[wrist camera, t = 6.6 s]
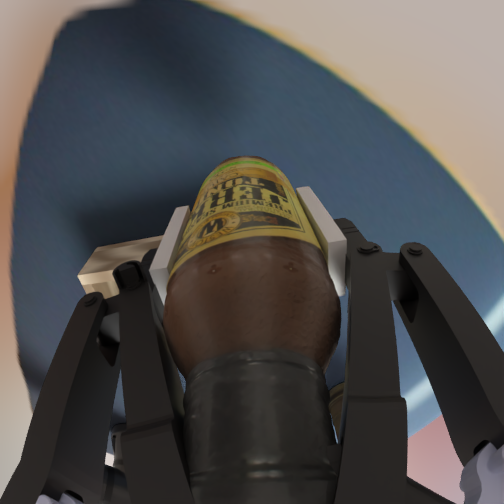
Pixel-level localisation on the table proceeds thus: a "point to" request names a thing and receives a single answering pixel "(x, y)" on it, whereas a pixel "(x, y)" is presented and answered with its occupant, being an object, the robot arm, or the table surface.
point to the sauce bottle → (253, 341)
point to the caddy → (112, 264)
